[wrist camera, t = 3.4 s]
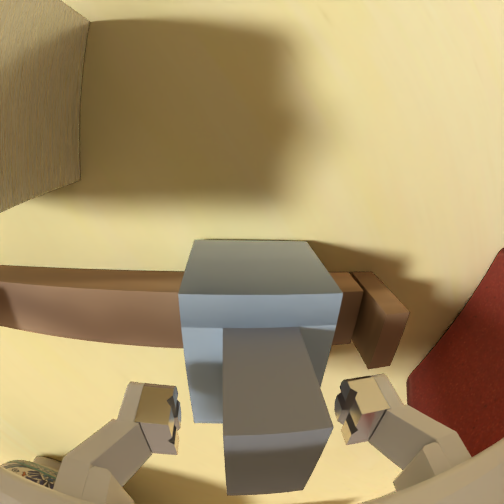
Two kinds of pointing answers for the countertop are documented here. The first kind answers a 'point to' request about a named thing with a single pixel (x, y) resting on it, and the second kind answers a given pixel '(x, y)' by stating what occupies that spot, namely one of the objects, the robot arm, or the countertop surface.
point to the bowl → (36, 470)
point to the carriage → (260, 356)
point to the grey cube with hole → (39, 97)
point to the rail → (172, 308)
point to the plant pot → (468, 369)
